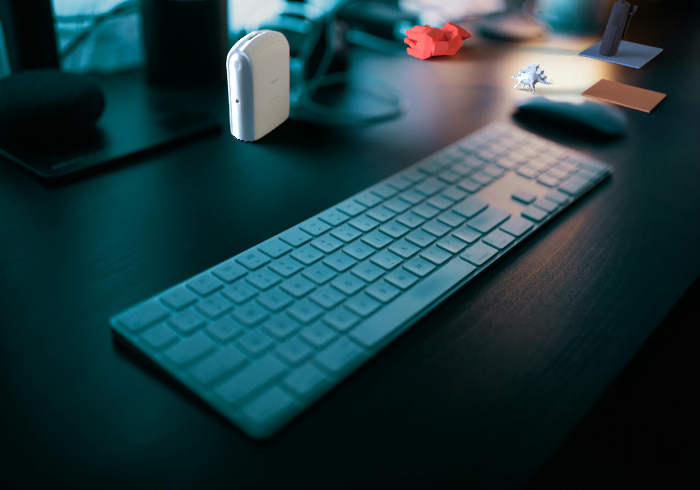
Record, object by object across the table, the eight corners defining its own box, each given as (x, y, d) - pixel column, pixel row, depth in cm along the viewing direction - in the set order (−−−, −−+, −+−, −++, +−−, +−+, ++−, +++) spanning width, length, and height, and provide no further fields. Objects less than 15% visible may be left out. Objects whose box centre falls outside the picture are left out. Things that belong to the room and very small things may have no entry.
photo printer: (255, 145, 73) (252, 45, 66) (226, 138, 74) (220, 38, 67) (293, 118, 81) (294, 26, 74) (266, 112, 82) (265, 21, 75)
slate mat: (662, 50, 126) (663, 49, 125) (638, 68, 113) (639, 67, 112) (606, 38, 131) (607, 37, 131) (578, 54, 118) (578, 53, 118)
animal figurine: (478, 49, 117) (482, 23, 114) (445, 66, 106) (450, 37, 103) (426, 38, 122) (430, 12, 119) (390, 53, 111) (393, 25, 108)
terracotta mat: (665, 96, 100) (666, 94, 99) (649, 112, 92) (649, 110, 92) (601, 80, 105) (602, 78, 105) (581, 94, 97) (581, 93, 97)
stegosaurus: (548, 97, 95) (556, 69, 92) (507, 88, 98) (513, 60, 95) (552, 93, 97) (560, 65, 94) (511, 84, 100) (517, 57, 97)
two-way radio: (601, 49, 122) (624, -29, 113) (623, 53, 120) (649, -26, 112) (596, 55, 118) (620, -26, 109) (619, 59, 116) (645, -22, 108)
